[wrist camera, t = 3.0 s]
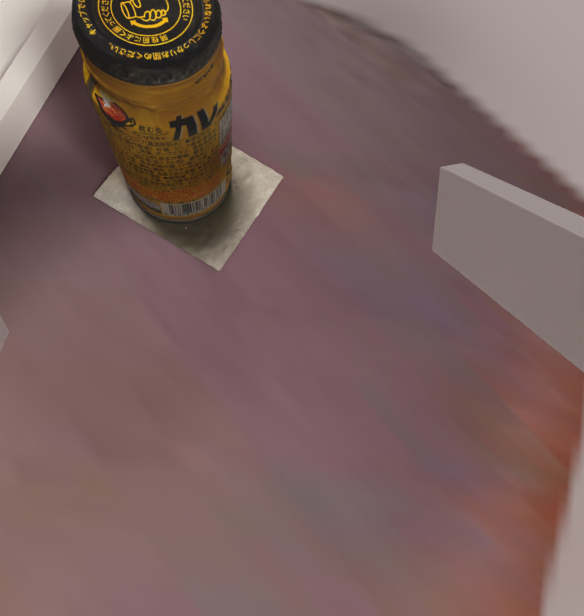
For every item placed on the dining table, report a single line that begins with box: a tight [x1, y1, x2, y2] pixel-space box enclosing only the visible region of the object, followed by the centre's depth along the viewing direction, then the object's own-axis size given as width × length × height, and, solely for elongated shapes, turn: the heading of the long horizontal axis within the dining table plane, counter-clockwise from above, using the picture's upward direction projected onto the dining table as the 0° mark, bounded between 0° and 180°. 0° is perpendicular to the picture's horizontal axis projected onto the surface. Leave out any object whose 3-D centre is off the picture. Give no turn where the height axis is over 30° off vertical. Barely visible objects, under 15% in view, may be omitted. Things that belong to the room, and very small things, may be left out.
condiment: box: [71, 0, 283, 271], centre depth 22 cm, size 7×8×12 cm
